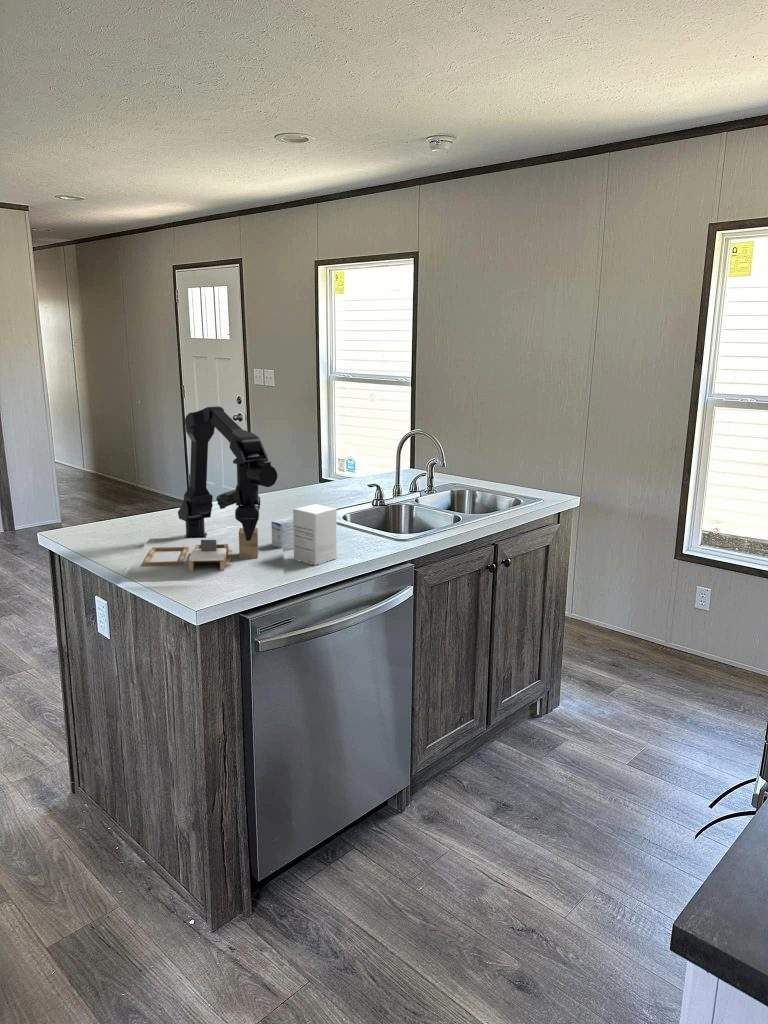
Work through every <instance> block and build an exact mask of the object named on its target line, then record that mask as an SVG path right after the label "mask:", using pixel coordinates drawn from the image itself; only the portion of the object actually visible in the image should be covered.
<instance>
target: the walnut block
mask: <svg viewBox="0 0 768 1024" xmlns="http://www.w3.org/2000/svg"><path fill="white" fill-rule="evenodd" d="M238 549H239V550H238V551H239V553H238V554H239V556H238V557H239V558H238V559H240V560H241V559H258V558H259V528H258V527H255V530H254V532H253V535H252V538H251V540H250V541H247V540H246V537H245V533H244V529H243V527H239V529H238Z"/></svg>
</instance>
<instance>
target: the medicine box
mask: <svg viewBox="0 0 768 1024" xmlns="http://www.w3.org/2000/svg"><path fill="white" fill-rule="evenodd" d="M271 546H272V547H276V548H279V549H282V552H286V551H289V550H294V529H293V516H290V517H285V518H282V519H277V520H273V521H271Z"/></svg>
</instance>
